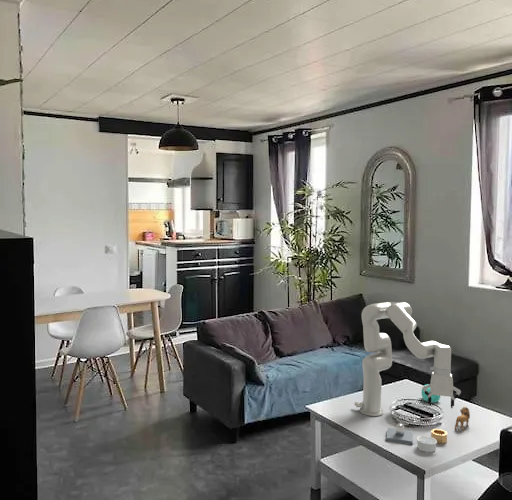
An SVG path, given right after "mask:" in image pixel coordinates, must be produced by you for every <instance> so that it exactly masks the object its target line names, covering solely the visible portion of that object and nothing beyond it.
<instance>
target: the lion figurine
mask: <svg viewBox="0 0 512 500" xmlns="http://www.w3.org/2000/svg"><path fill="white" fill-rule="evenodd" d="M459 412H460V413H461V415H458V416H457V417H456V420H455V421H456V422H455V425H454V430H455V431H456V430H457V431H458V432H459V431H460V429H461V430H463V431H465V428H464V423H465V427H469V421H470V420H469V419H470V418H471V417H470V416H471V414H470V413H471V412H470V409H469V408H468V407H467V406H463V407H462V408H460V409H459ZM459 423H460V426H461V428H459Z"/></svg>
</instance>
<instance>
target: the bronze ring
mask: <svg viewBox="0 0 512 500" xmlns="http://www.w3.org/2000/svg"><path fill="white" fill-rule="evenodd" d="M430 434H431V435H430V437H432V438H434V439H436V440H437V443H436V444H439V445H440V444H441V445H442V444H447V442H448V441H447V438H448V431H446V430H444V429H439V428H434V429H431V433H430Z"/></svg>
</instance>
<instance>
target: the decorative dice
mask: <svg viewBox="0 0 512 500" xmlns="http://www.w3.org/2000/svg"><path fill="white" fill-rule="evenodd" d="M429 384H430V383H428V384H424V385H423V386H426V385H429ZM426 390H427V392H428V393H429V392H430V388H427V389H426ZM421 398H422V399H423V401H425V402H427V401H428V396H427V395H426V394H425V393H424V391H423V389H422V388H421ZM440 399H441V396H439V395H432V396H431V403H437V402H439V401H440Z"/></svg>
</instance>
